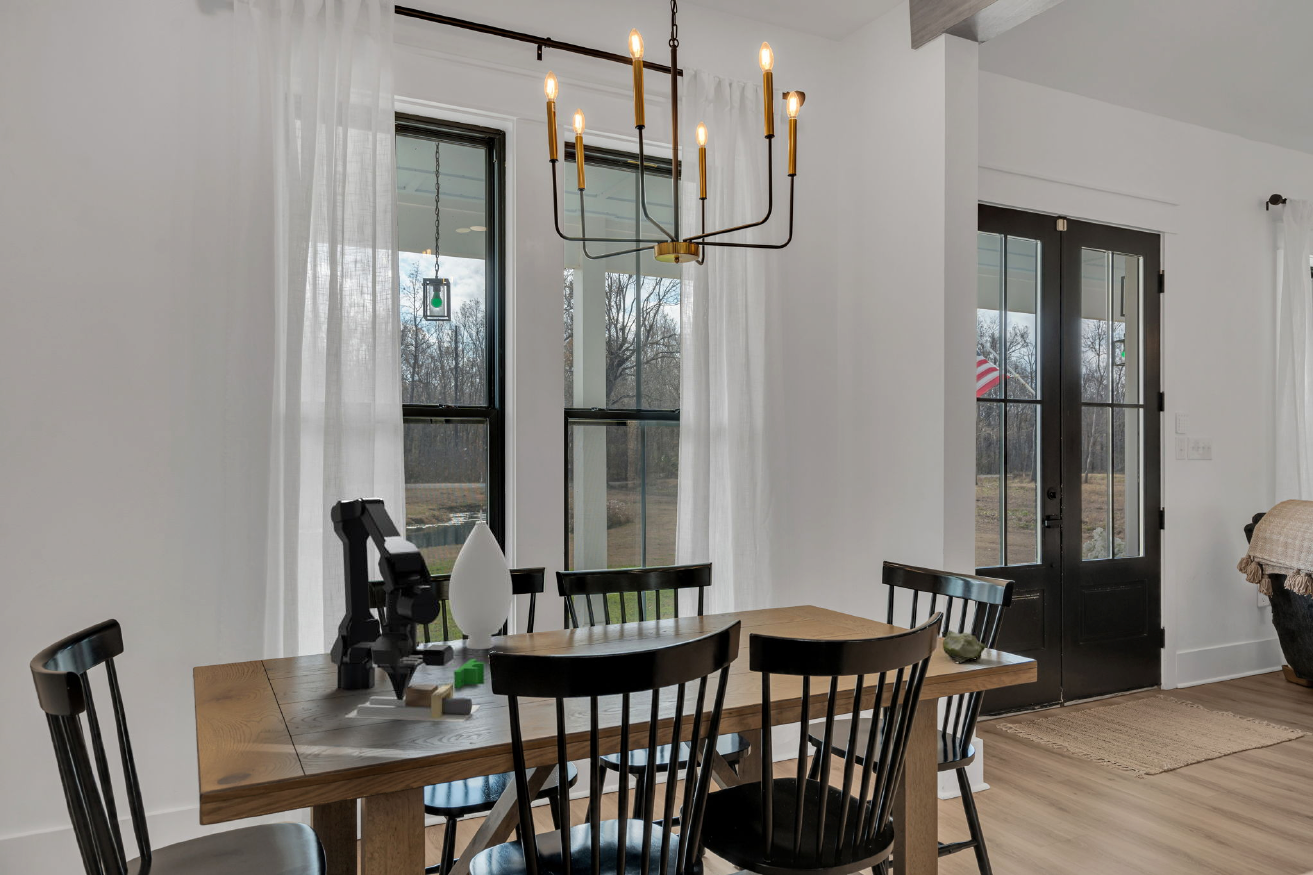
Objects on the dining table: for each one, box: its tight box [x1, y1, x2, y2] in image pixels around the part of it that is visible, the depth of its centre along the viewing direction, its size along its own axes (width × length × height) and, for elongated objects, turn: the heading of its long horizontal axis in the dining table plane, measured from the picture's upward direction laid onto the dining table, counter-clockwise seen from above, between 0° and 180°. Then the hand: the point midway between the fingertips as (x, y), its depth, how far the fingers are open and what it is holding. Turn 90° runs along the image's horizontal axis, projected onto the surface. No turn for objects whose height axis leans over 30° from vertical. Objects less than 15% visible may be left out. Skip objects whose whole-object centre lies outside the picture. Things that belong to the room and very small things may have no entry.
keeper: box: [404, 683, 439, 707], centre depth 163 cm, size 5×3×4 cm
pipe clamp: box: [453, 658, 485, 689], centre depth 184 cm, size 11×4×5 cm, turn 173°
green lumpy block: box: [941, 629, 986, 664], centre depth 209 cm, size 9×9×8 cm
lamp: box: [448, 509, 513, 650], centre depth 221 cm, size 16×16×35 cm
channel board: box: [344, 683, 481, 723], centre depth 163 cm, size 22×10×5 cm, turn 84°
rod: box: [442, 697, 473, 715], centre depth 161 cm, size 7×3×3 cm, turn 84°
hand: (400, 699), depth 163 cm, fingers closed
